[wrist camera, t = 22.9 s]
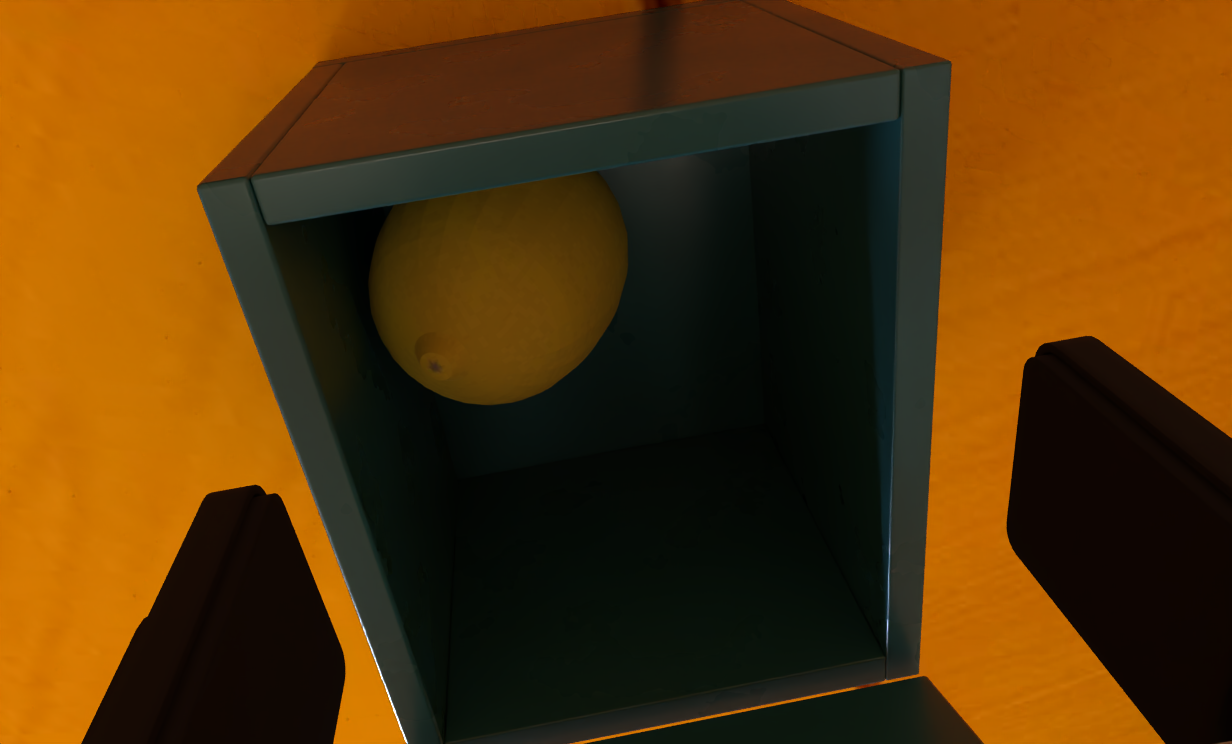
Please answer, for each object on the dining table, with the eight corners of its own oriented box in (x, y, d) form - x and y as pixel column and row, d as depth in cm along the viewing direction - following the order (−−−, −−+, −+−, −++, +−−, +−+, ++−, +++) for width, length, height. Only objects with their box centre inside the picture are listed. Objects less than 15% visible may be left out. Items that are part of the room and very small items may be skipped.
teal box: (316, 62, 22) (193, 185, 13) (762, -9, 23) (953, 60, 14) (439, 488, 29) (416, 775, 20) (782, 425, 30) (919, 674, 20)
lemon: (702, 196, 22) (628, 390, 16) (569, 311, 26) (465, 508, 20) (540, 36, 21) (392, 183, 15) (420, 179, 24) (258, 348, 18)
